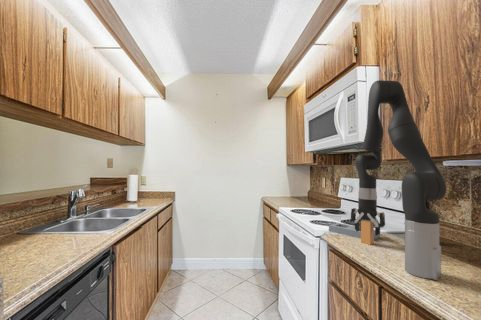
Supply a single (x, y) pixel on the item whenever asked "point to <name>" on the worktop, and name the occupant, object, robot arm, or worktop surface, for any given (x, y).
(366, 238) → the orange plug
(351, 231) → the slate power strip
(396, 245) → the worktop surface
